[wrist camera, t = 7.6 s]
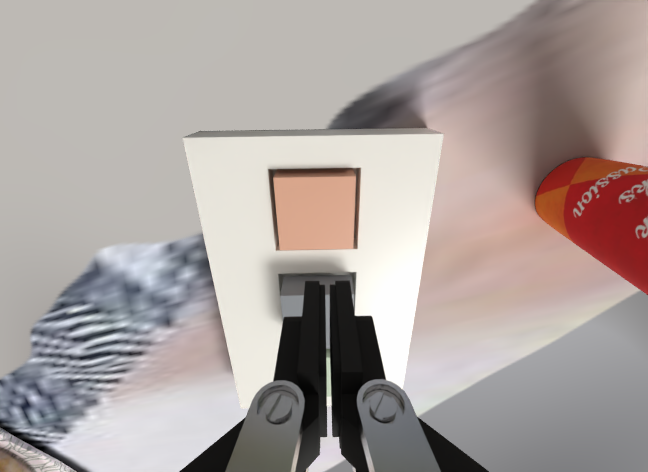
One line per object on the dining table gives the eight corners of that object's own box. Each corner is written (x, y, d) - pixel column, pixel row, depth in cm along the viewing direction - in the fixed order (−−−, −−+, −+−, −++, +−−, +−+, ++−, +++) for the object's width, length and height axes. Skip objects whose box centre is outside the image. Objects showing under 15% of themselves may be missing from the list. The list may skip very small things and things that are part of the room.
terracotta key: (352, 167, 21) (355, 176, 19) (350, 233, 23) (353, 248, 21) (277, 168, 21) (273, 177, 19) (283, 234, 23) (279, 250, 21)
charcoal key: (350, 274, 23) (354, 294, 21) (349, 325, 25) (352, 347, 23) (283, 276, 23) (280, 295, 21) (288, 327, 25) (285, 349, 23)
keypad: (427, 128, 21) (443, 133, 18) (393, 378, 33) (400, 404, 30) (199, 131, 21) (182, 137, 18) (247, 381, 32) (240, 408, 30)
